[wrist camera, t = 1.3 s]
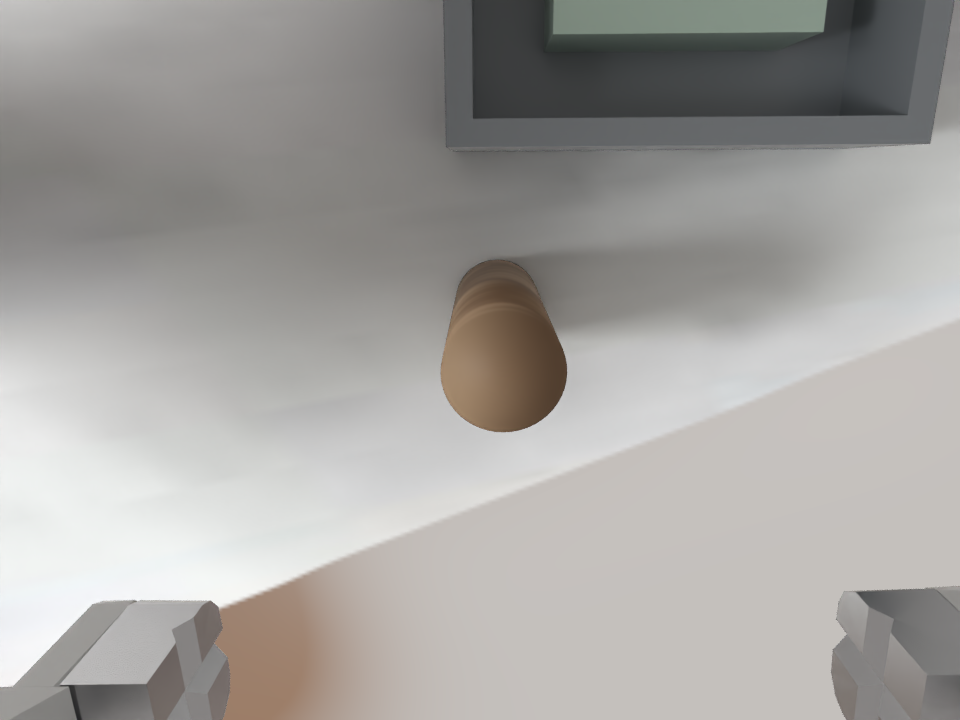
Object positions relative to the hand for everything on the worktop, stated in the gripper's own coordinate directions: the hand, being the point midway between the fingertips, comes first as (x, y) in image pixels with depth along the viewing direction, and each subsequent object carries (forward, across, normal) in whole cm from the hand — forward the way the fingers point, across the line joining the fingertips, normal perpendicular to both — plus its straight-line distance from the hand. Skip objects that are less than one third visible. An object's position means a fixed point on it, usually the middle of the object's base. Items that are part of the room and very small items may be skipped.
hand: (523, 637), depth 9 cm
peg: (+25, +1, 0) cm, 25 cm away
